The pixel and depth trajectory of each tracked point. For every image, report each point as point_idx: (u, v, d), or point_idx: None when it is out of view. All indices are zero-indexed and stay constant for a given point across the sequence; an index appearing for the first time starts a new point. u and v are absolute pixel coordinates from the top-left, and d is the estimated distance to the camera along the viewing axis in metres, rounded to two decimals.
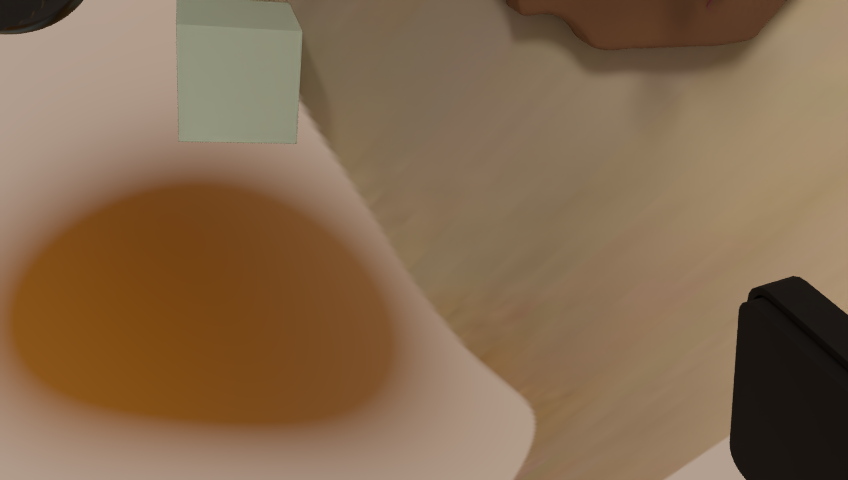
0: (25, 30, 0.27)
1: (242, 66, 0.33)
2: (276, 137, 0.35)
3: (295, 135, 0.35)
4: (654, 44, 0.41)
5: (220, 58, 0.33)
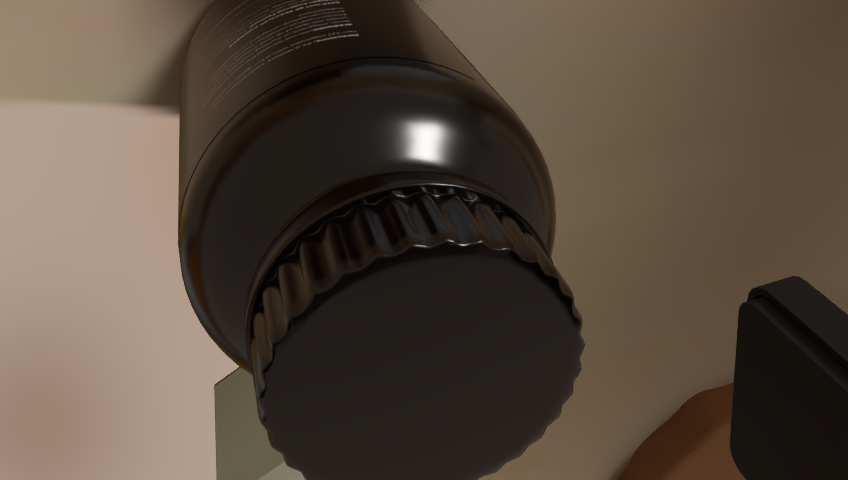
0: None
1: None
2: None
3: None
4: None
5: None
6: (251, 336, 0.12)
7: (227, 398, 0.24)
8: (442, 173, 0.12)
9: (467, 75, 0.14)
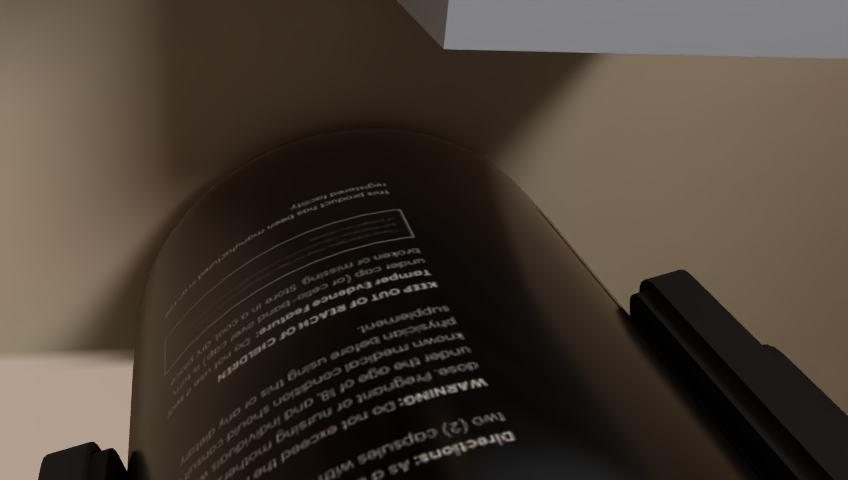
0: None
1: None
2: None
3: None
4: None
5: None
6: None
7: None
8: None
9: None
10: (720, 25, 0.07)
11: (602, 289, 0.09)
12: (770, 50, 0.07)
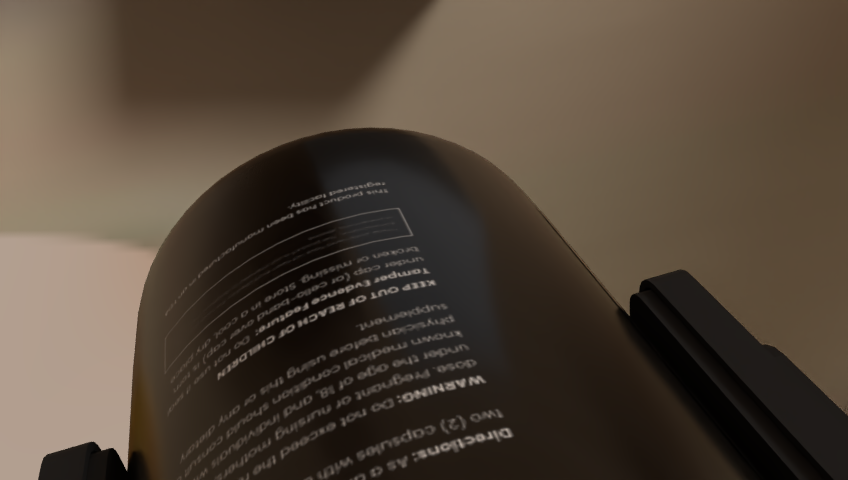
0: None
1: None
2: None
3: None
4: None
5: None
6: None
7: None
8: None
9: None
10: None
11: (600, 287, 0.09)
12: None
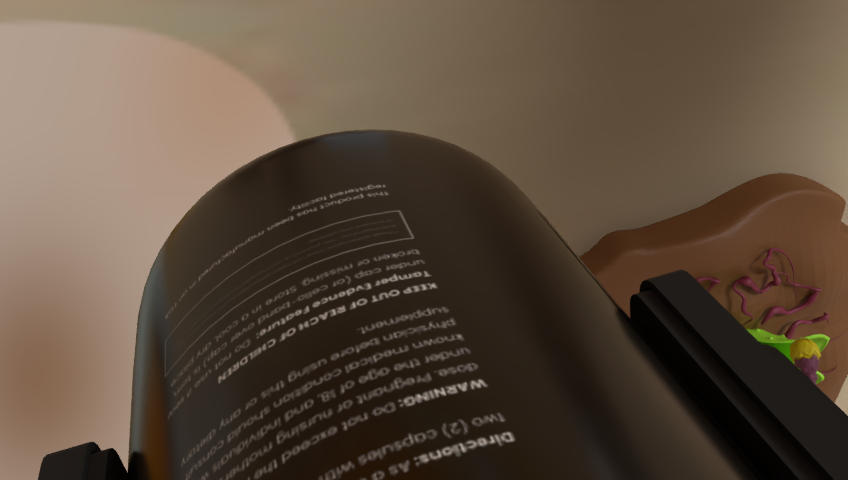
0: None
1: None
2: None
3: None
4: None
5: None
6: None
7: None
8: None
9: None
10: None
11: (601, 290, 0.09)
12: None
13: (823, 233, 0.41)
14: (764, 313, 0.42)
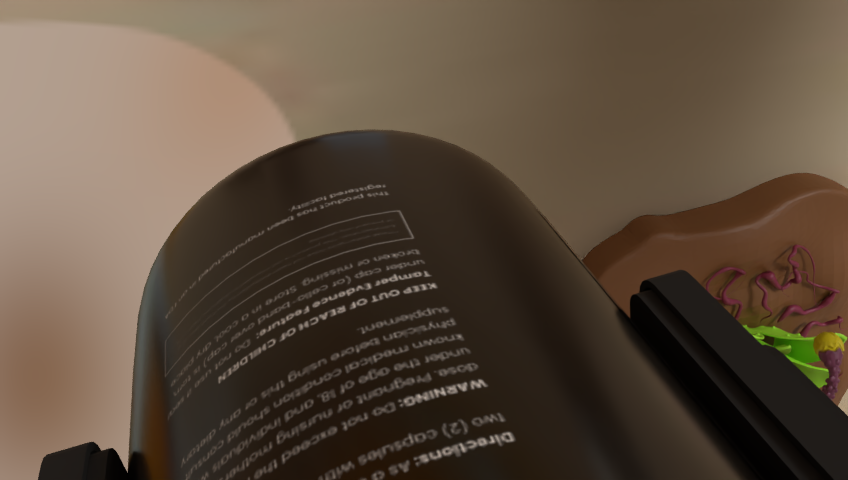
0: None
1: None
2: None
3: None
4: None
5: None
6: None
7: None
8: None
9: None
10: None
11: (601, 290, 0.09)
12: None
13: (845, 235, 0.41)
14: (781, 311, 0.42)
